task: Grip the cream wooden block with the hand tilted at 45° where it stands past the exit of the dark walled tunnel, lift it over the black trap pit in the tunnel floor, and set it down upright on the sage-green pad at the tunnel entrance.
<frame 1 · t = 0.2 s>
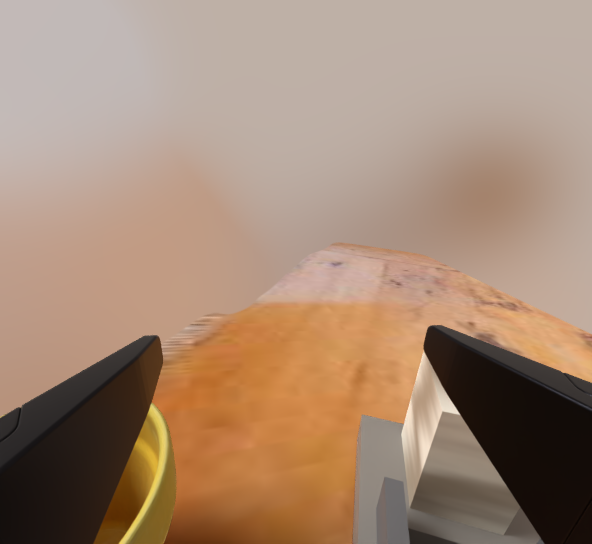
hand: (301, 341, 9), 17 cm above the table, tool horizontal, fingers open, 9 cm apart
cream block: (444, 477, 18), point 3 cm above the table, touching tunnel deck
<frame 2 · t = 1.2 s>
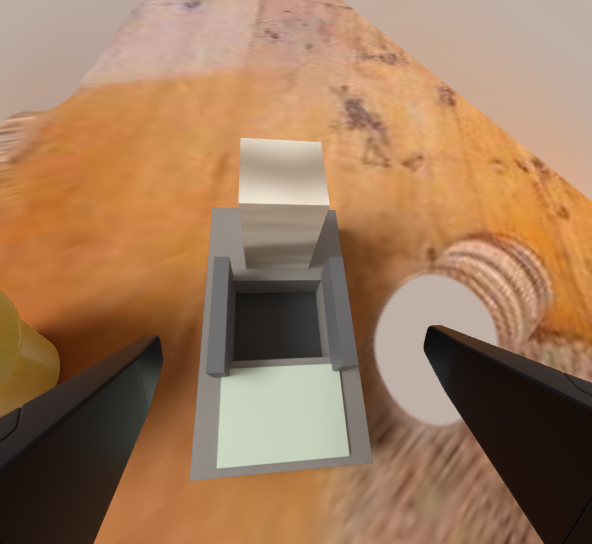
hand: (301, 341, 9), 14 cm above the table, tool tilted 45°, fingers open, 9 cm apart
tunnel deck: (277, 321, 24), on the table
plant pot: (12, 379, 20), on the table
cream block: (276, 241, 23), point 3 cm above the table, touching tunnel deck
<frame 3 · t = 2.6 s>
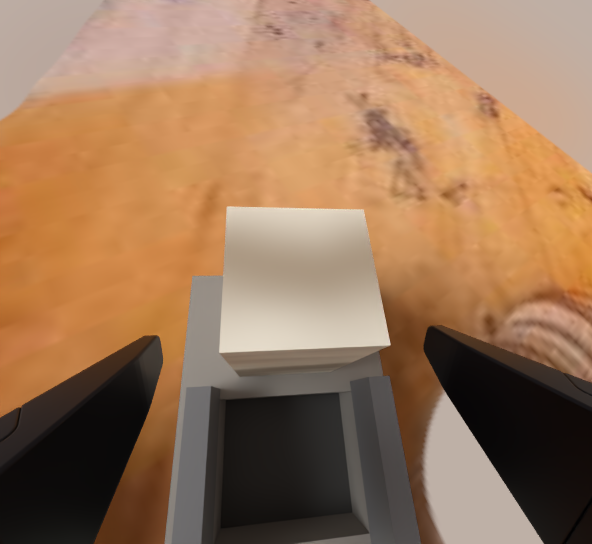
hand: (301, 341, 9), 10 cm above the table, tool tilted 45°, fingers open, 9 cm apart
tunnel deck: (285, 442, 16), on the table
cream block: (284, 328, 16), point 3 cm above the table, touching tunnel deck
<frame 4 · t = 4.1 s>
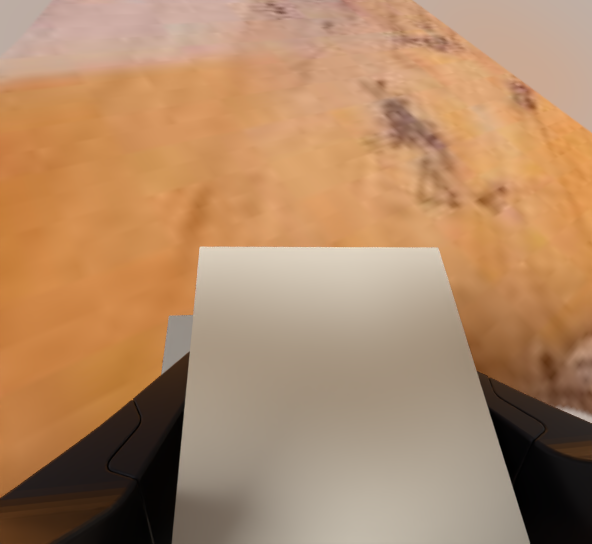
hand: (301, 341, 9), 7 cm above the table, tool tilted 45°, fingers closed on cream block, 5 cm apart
tunnel deck: (293, 542, 12), on the table
cream block: (292, 390, 12), point 3 cm above the table, touching gripper, tunnel deck
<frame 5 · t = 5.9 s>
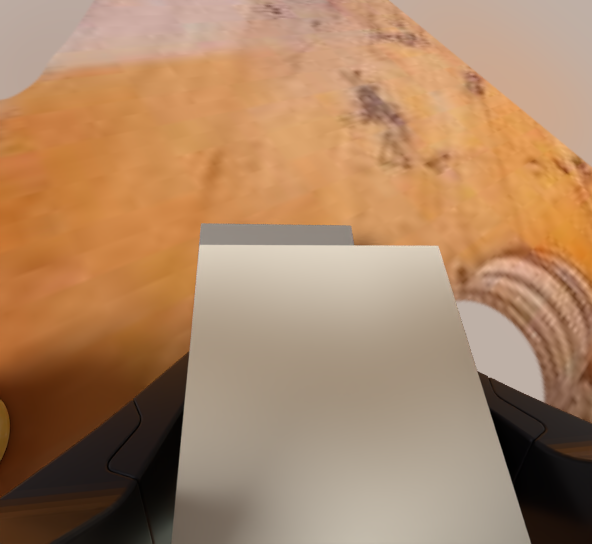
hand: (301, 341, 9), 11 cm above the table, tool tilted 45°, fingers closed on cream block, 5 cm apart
tunnel deck: (280, 363, 19), on the table
cream block: (292, 389, 12), point 7 cm above the table, touching gripper
when the fingers open (8 cm above the table, at t = 7.5 s): cream block drops 2 cm, resting on tunnel deck.
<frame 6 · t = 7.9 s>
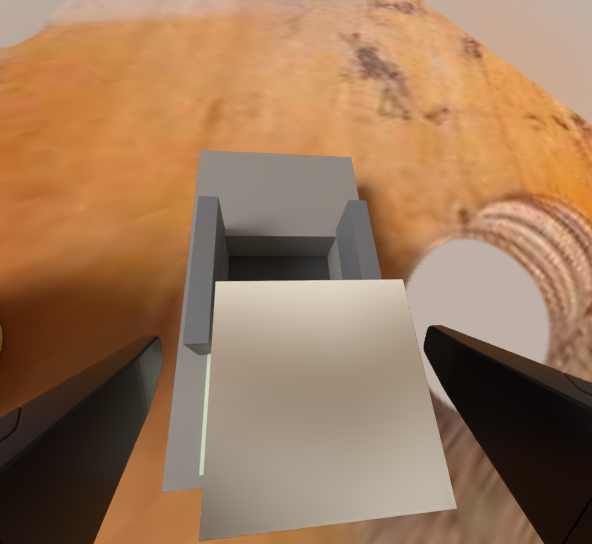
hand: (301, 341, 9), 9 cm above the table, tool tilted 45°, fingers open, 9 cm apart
tunnel deck: (280, 290, 19), on the table
cream block: (289, 391, 13), point 3 cm above the table, touching tunnel deck
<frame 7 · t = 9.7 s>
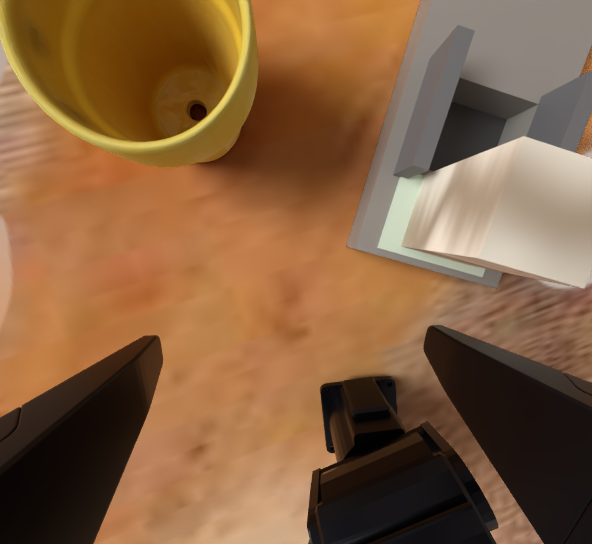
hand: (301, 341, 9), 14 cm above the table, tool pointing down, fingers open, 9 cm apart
tunnel deck: (450, 140, 22), on the table
plant pot: (200, 116, 21), on the table
cream block: (445, 221, 19), point 3 cm above the table, touching tunnel deck
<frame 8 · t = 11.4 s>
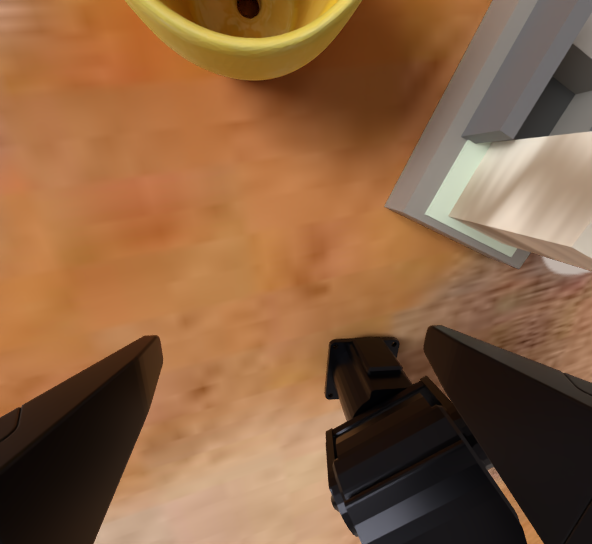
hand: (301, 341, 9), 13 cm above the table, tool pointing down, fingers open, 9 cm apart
tunnel deck: (515, 107, 20), on the table
plant pot: (246, 12, 16), on the table
cream block: (497, 196, 19), point 3 cm above the table, touching tunnel deck
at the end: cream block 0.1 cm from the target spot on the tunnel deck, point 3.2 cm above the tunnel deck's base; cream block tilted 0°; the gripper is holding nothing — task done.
